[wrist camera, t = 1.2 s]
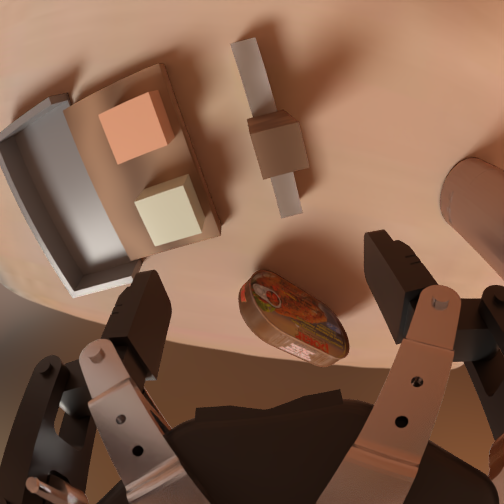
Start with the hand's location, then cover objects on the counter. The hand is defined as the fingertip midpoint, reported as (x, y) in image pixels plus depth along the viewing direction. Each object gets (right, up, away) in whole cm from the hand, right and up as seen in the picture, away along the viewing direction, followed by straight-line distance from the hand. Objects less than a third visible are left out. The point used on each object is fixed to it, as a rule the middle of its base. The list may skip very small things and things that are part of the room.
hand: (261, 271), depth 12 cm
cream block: (-7, +5, +16) cm, 19 cm away
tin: (+4, -5, +26) cm, 27 cm away
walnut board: (-11, +9, +16) cm, 21 cm away
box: (-20, +7, +17) cm, 27 cm away
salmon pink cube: (-10, +12, +12) cm, 19 cm away
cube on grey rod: (+1, +12, +15) cm, 19 cm away
